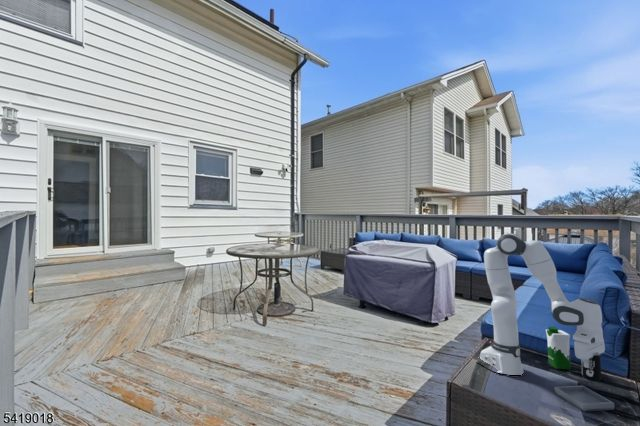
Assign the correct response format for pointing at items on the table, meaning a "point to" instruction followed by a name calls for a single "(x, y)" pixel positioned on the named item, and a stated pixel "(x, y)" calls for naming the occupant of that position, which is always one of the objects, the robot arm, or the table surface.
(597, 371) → the beverage can
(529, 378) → the table surface
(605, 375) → the table surface
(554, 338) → the milk carton
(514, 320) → the robot arm
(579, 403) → the tray
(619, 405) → the table surface
